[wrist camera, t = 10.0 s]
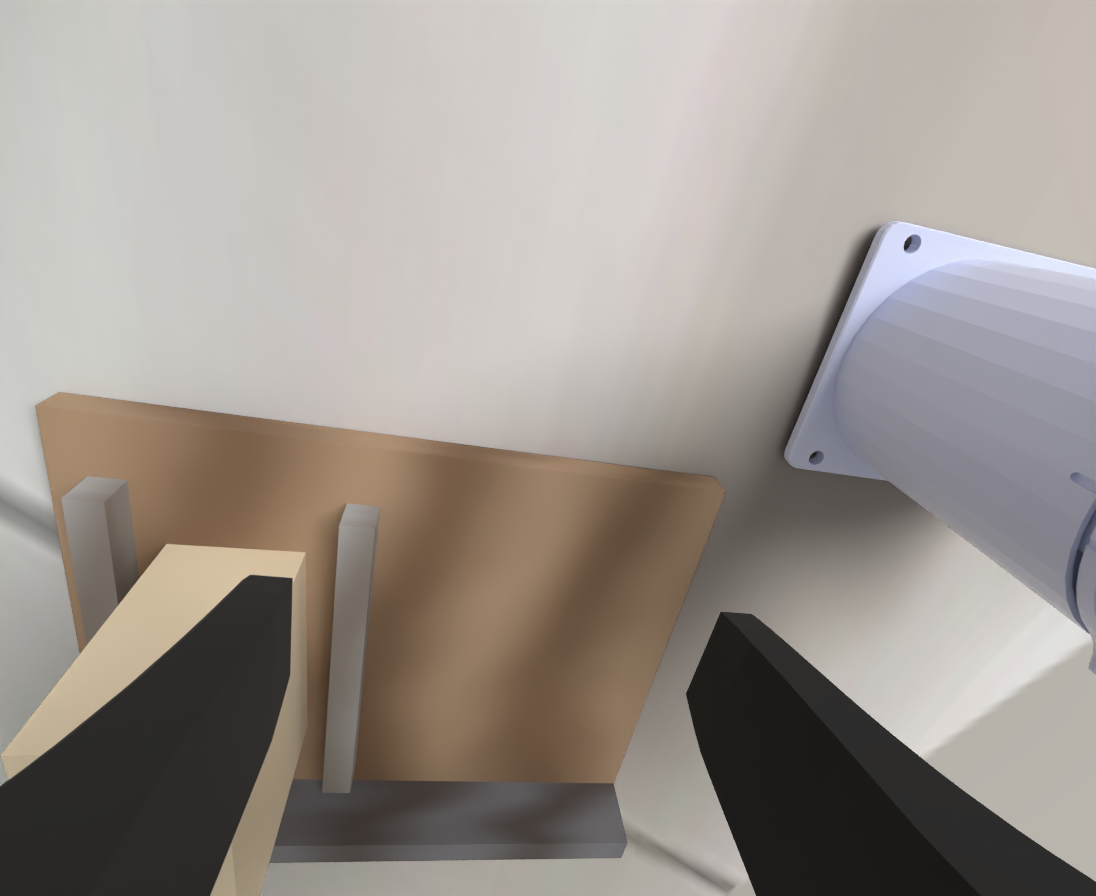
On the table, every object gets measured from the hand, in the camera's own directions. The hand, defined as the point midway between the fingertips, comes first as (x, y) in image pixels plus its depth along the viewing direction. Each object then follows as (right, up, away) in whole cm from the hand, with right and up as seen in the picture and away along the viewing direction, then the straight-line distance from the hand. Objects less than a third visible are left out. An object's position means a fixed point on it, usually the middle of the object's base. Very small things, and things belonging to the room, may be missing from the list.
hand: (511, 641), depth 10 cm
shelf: (-5, -4, +12) cm, 13 cm away
